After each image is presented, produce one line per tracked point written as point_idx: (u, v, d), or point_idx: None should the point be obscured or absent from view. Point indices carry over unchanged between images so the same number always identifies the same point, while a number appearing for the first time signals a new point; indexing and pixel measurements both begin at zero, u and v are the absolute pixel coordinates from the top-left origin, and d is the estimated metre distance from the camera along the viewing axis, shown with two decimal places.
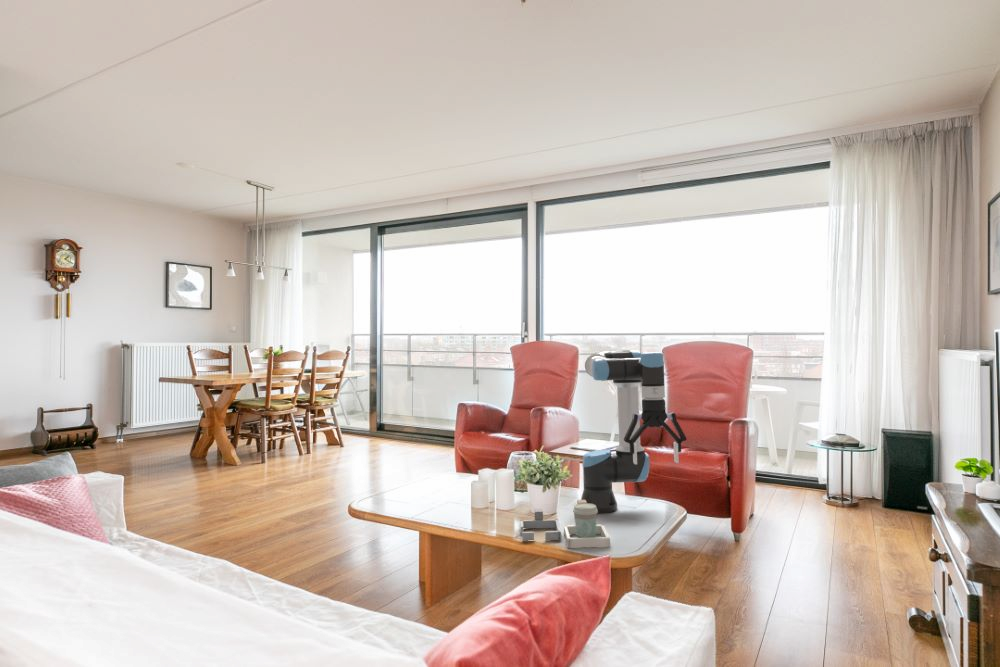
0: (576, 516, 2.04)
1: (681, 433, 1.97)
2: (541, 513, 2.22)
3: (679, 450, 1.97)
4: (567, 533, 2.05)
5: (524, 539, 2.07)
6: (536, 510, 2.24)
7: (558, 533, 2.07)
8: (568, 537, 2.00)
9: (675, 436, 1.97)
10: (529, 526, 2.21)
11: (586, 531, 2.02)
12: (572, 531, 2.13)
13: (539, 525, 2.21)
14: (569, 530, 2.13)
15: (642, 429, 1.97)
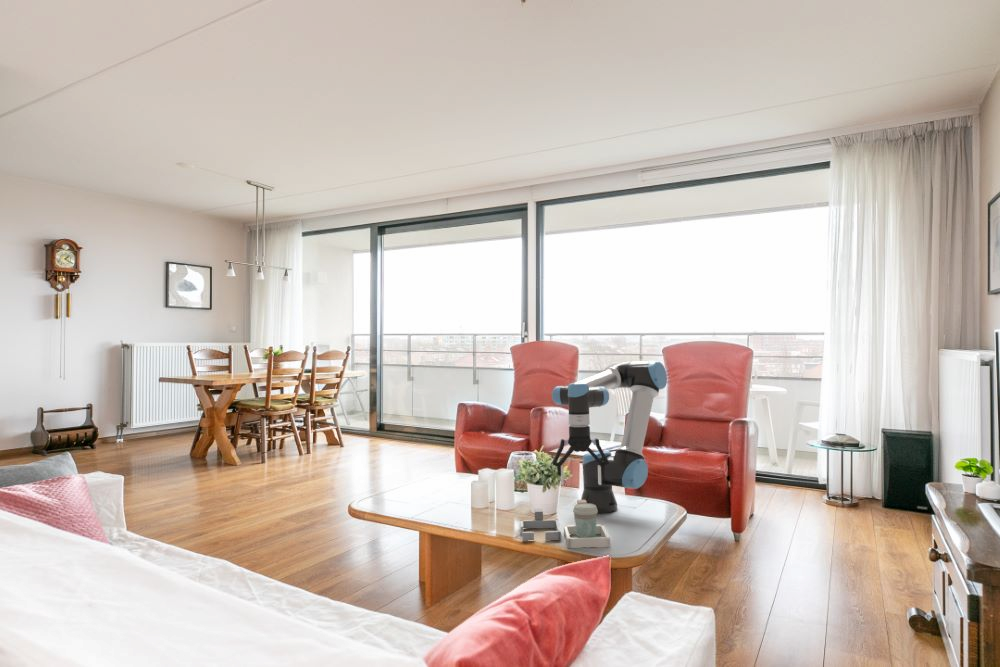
0: (576, 516, 2.04)
1: (604, 457, 2.15)
2: (541, 513, 2.22)
3: (602, 473, 2.15)
4: (567, 533, 2.05)
5: (524, 539, 2.07)
6: (536, 510, 2.24)
7: (558, 533, 2.07)
8: (568, 537, 2.00)
9: (598, 460, 2.15)
10: (529, 526, 2.21)
11: (586, 531, 2.02)
12: (572, 531, 2.13)
13: (539, 525, 2.21)
14: (569, 530, 2.13)
15: (568, 453, 2.15)
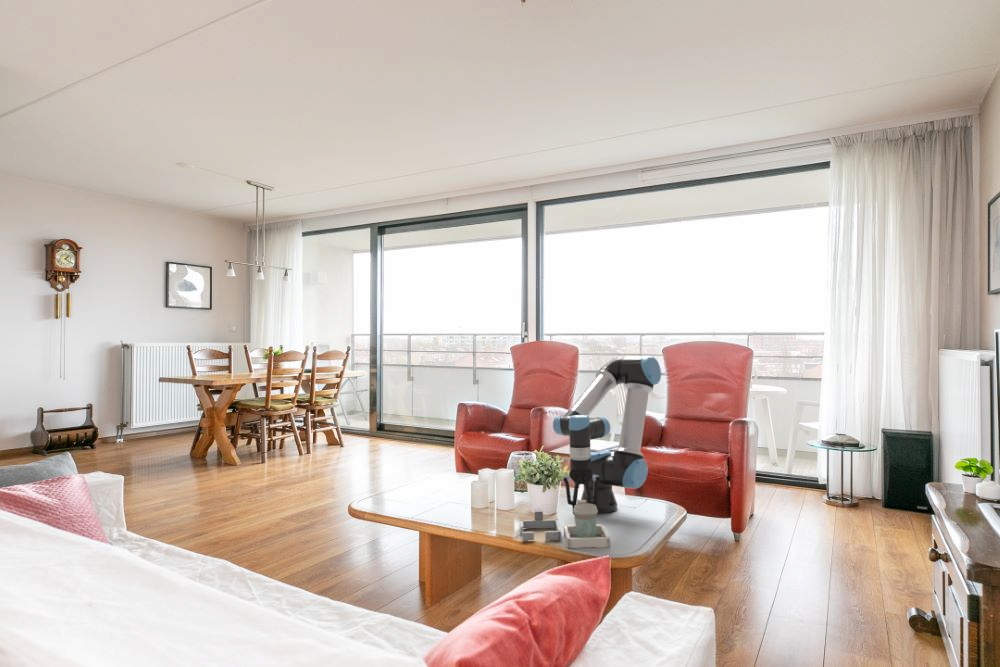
0: (576, 516, 2.04)
1: (595, 496, 2.15)
2: (541, 513, 2.22)
3: None
4: (567, 533, 2.05)
5: (524, 539, 2.07)
6: (536, 510, 2.24)
7: (558, 533, 2.07)
8: (568, 537, 2.00)
9: (589, 498, 2.15)
10: (529, 526, 2.21)
11: (586, 531, 2.02)
12: (572, 531, 2.13)
13: (539, 525, 2.21)
14: (569, 530, 2.13)
15: (576, 489, 2.15)
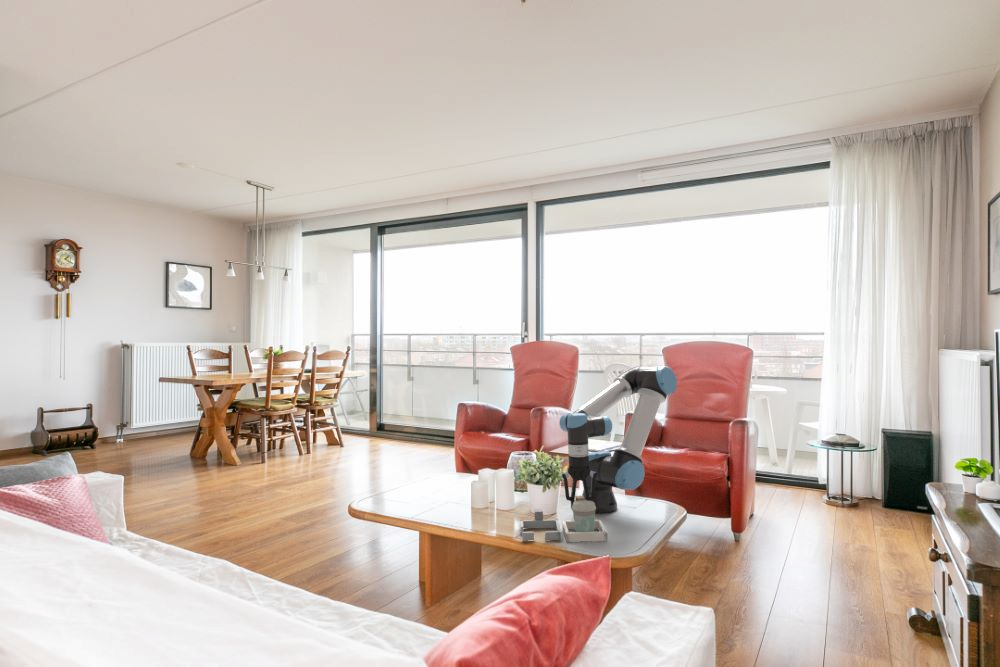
0: (575, 513, 2.08)
1: (592, 492, 2.21)
2: (541, 513, 2.22)
3: None
4: (565, 528, 2.11)
5: (524, 539, 2.07)
6: (536, 510, 2.24)
7: (558, 533, 2.07)
8: (566, 531, 2.07)
9: (587, 494, 2.21)
10: (529, 526, 2.21)
11: (585, 527, 2.06)
12: (570, 526, 2.19)
13: (539, 525, 2.21)
14: (567, 525, 2.19)
15: (574, 485, 2.21)
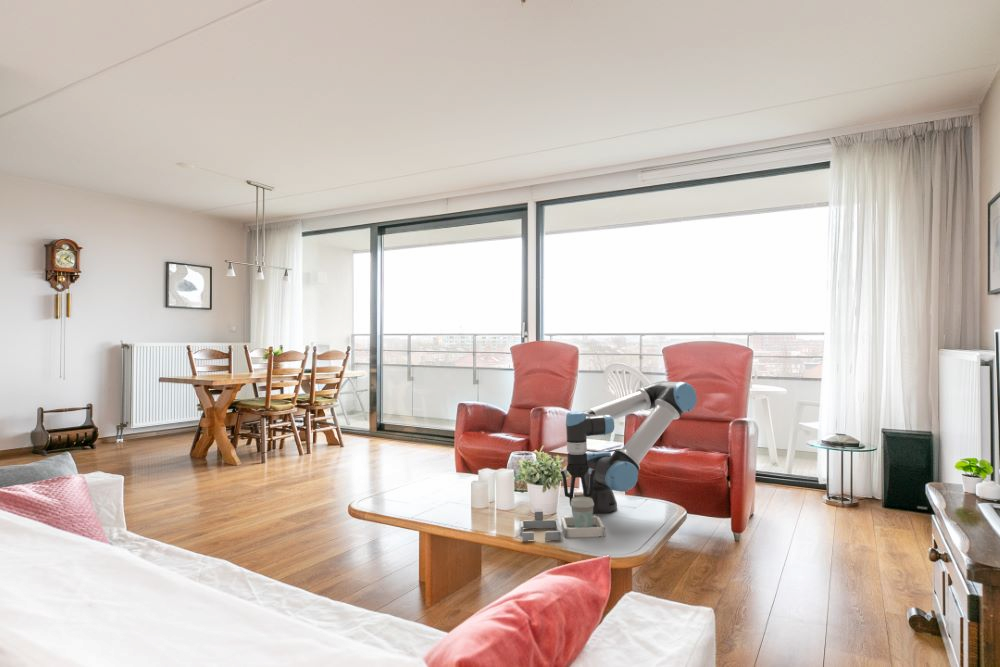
0: (573, 509, 2.13)
1: (590, 488, 2.26)
2: (541, 513, 2.22)
3: None
4: (564, 523, 2.16)
5: (524, 539, 2.07)
6: (536, 510, 2.24)
7: (558, 533, 2.07)
8: (565, 527, 2.12)
9: (585, 491, 2.26)
10: (529, 526, 2.21)
11: (583, 523, 2.11)
12: (569, 522, 2.24)
13: (539, 525, 2.21)
14: (566, 521, 2.24)
15: (573, 482, 2.26)
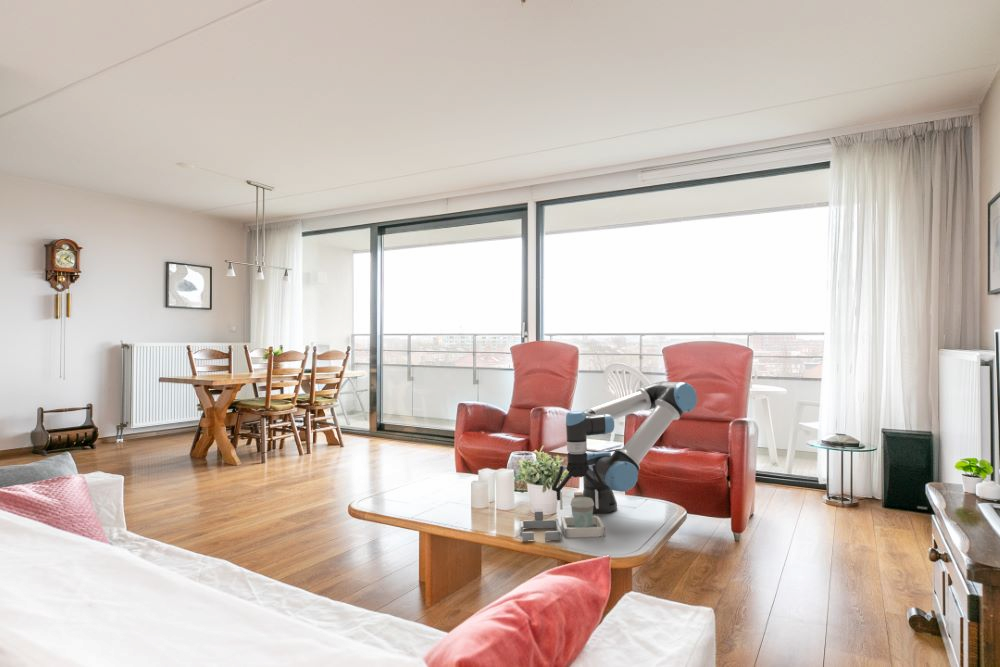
0: (573, 509, 2.13)
1: (601, 482, 2.26)
2: (541, 513, 2.22)
3: (599, 497, 2.27)
4: (564, 523, 2.16)
5: (524, 539, 2.07)
6: (536, 510, 2.24)
7: (558, 533, 2.07)
8: (565, 527, 2.12)
9: (595, 485, 2.26)
10: (529, 526, 2.21)
11: (583, 523, 2.11)
12: (569, 522, 2.24)
13: (539, 525, 2.21)
14: (566, 521, 2.24)
15: (567, 479, 2.26)
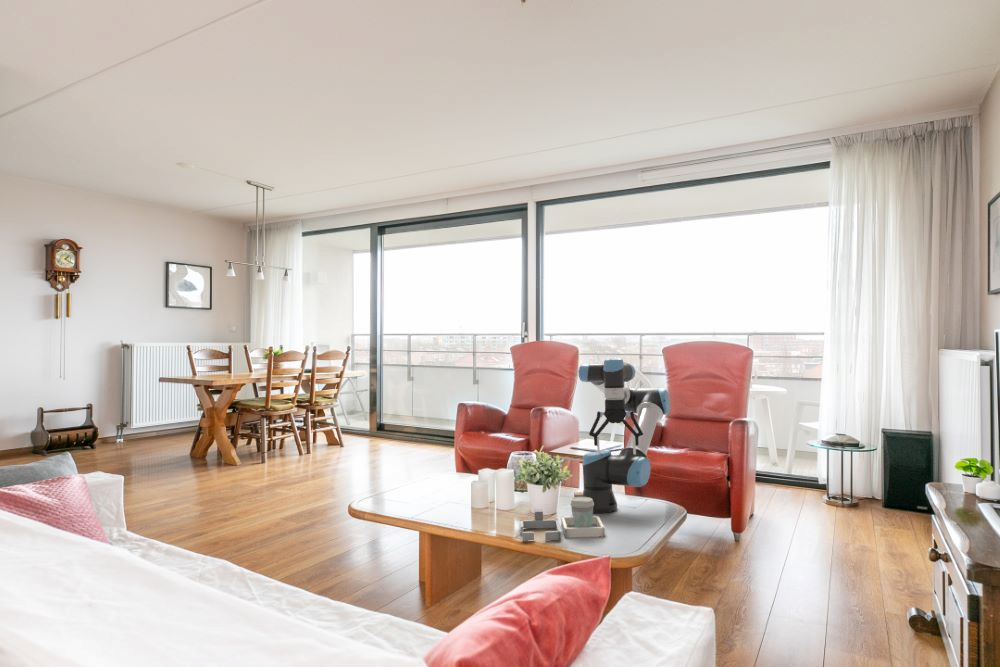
0: (573, 509, 2.13)
1: (638, 429, 2.27)
2: (541, 513, 2.22)
3: (637, 443, 2.28)
4: (564, 523, 2.16)
5: (524, 539, 2.07)
6: (536, 510, 2.24)
7: (558, 533, 2.07)
8: (565, 527, 2.12)
9: (633, 431, 2.27)
10: (529, 526, 2.21)
11: (583, 523, 2.11)
12: (569, 522, 2.24)
13: (539, 525, 2.21)
14: (566, 521, 2.24)
15: (604, 425, 2.29)
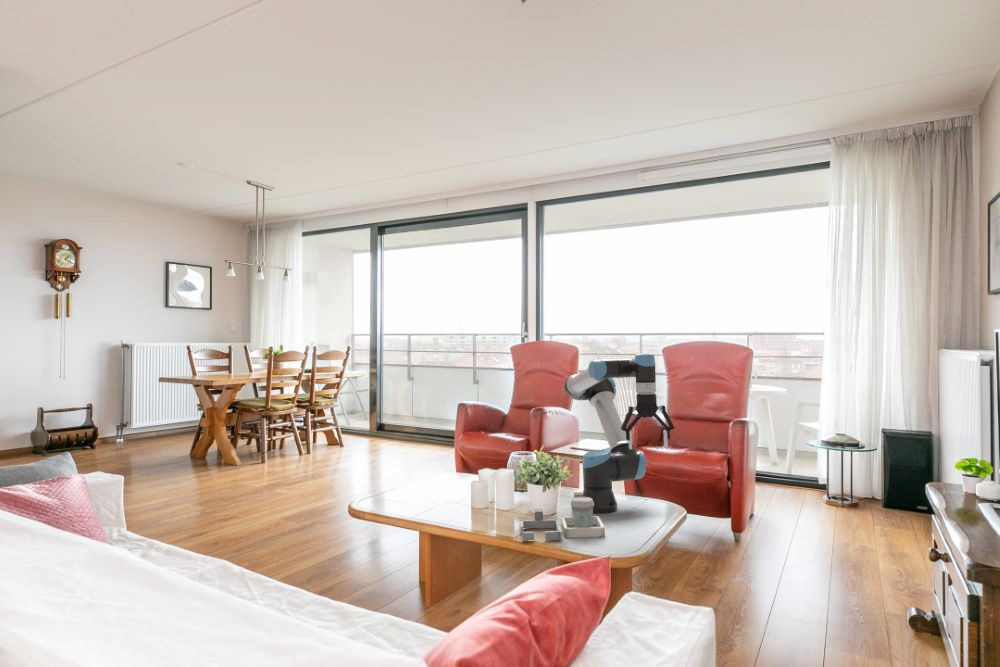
0: (573, 509, 2.13)
1: (670, 423, 2.30)
2: (541, 513, 2.22)
3: (668, 437, 2.30)
4: (564, 523, 2.16)
5: (524, 539, 2.07)
6: (536, 510, 2.24)
7: (558, 533, 2.07)
8: (565, 527, 2.12)
9: (665, 425, 2.30)
10: (529, 526, 2.21)
11: (583, 523, 2.11)
12: (569, 522, 2.24)
13: (539, 525, 2.21)
14: (566, 521, 2.24)
15: (636, 419, 2.30)
